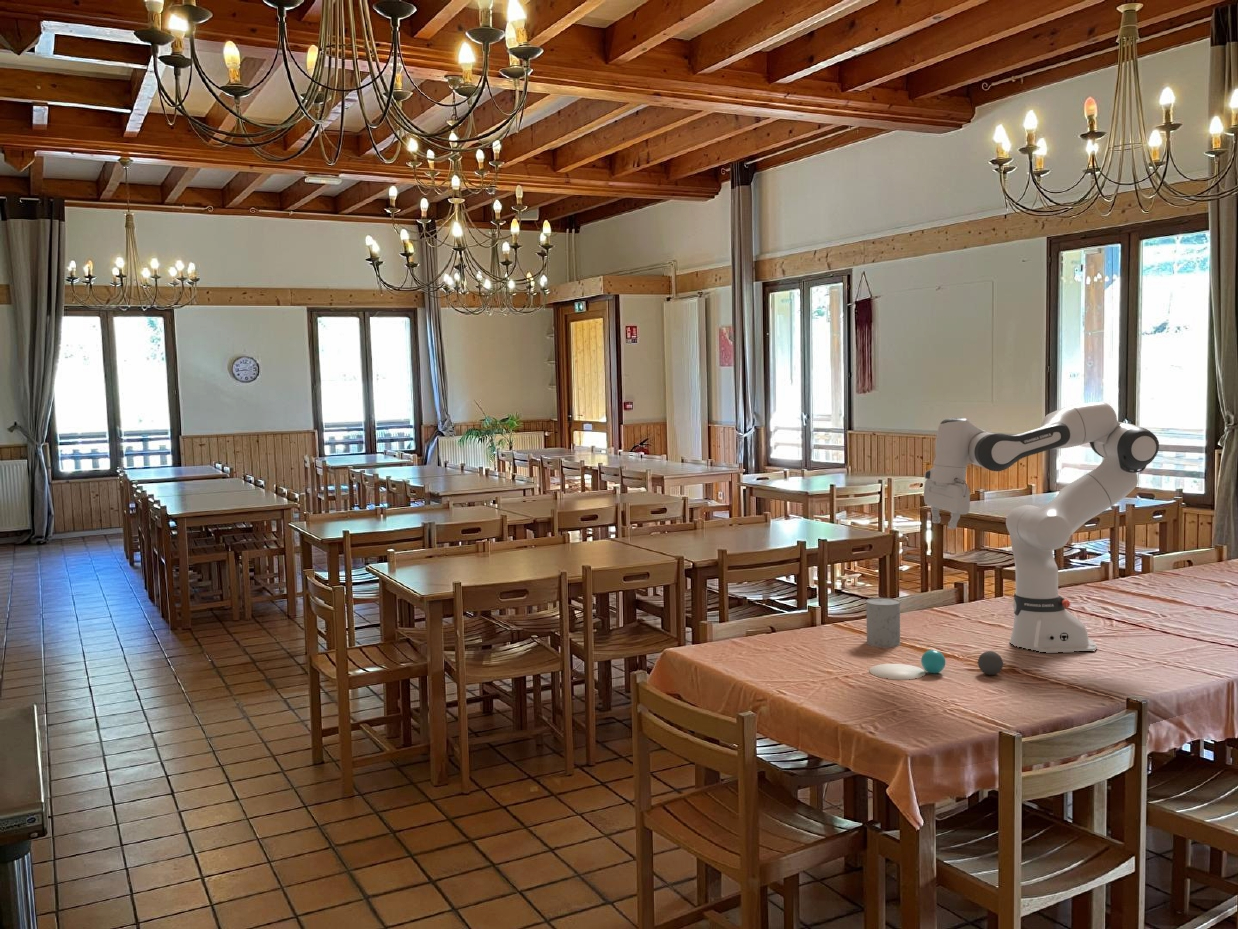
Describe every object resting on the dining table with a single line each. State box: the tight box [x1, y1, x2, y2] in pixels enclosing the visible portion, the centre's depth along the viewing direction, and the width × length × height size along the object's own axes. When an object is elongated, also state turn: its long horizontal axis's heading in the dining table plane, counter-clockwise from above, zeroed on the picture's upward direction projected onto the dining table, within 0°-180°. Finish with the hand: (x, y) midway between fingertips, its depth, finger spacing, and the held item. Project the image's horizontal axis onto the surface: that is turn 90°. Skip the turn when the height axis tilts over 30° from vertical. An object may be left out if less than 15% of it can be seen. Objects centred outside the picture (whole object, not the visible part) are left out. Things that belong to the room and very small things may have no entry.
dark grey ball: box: [977, 650, 1004, 676], centre depth 255 cm, size 6×6×6 cm
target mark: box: [869, 663, 926, 681], centre depth 260 cm, size 14×14×1 cm
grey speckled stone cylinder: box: [865, 597, 901, 649], centre depth 289 cm, size 10×10×12 cm
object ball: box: [920, 649, 946, 674], centre depth 258 cm, size 6×6×6 cm
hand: (943, 525), depth 277 cm, fingers open, 8 cm apart
